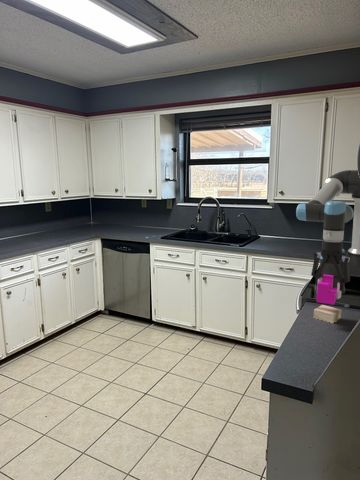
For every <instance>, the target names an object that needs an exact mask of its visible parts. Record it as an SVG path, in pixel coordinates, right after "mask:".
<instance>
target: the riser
mask: <svg viewBox="0 0 360 480" xmlns="http://www.w3.org/2000/svg"><path fill="white" fill-rule="evenodd" d="M313 318H315V319H314V320H317V319H319V320H318V321H321V320H323V321H322V322H325V321H326V323H329V322H330V323H329V324H335V323H337V322H338V321H340V320H341V319H342V309H341V308H336V307H333V306H328V305H324V304H320V306H318V307H316V308H314V309H313ZM340 318H341V319H340ZM339 319H340V320H339ZM337 320H338V321H337ZM334 322H335V323H334Z"/></svg>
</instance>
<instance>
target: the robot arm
mask: <svg viewBox="0 0 360 480" xmlns="http://www.w3.org/2000/svg"><path fill="white" fill-rule="evenodd" d="M358 170H359V169H356V170H355V169H352V170H350V169H346V170H343V171H342V170H341V171H339V172H337V173H335V174H332V175H330V176H329V177H328V178H326V180H324V182H323V184H322V187H321V188H320V189H319V191H318V192H316V193H315V195H314V196H312V198H311V199H310V200H309V201H308V202H307V203H299V204H298V205H297V207H296V210H295V212H296V213H295V215H296V219H298V220H299V221H305V222H319V223H323V232H322V239H323V240H322V243H321V244H322V245H321V251H320V252H318V251H317V252H314V253H313V259H314V260H313V263H312V269H311V274H310V275H311V276H312V277H313V278H315V284H314V290H315V292H317V287H318V282H322V281H323V275H324V274H325V275H333V288H337V297H336V300H339V299H341V298H342V295H344V294H345V293H346V288H345V284H346V283H349V282H351V277H358V278H360V178H359V175H358ZM341 194H349V195H351V199H352V200H353V202H354V204H353V205H354V207H353V208H352V206H350V205H347V203H346V202H344V201H338V200H337V201H336V200H335V201H333V200H334V199H335V197H338V196H339V195H341ZM351 220H353V221H352V222H353V223H352V236H351V247H350V248H349V249H348V250H347V252H346V250H345V249H344V242H343V241H344V237H345V236H344V235H345V233H344V232H345V224H346V223H348V222H350V221H351ZM318 268H319V269H318Z"/></svg>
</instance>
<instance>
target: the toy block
mask: <svg viewBox="0 0 360 480" xmlns="http://www.w3.org/2000/svg"><path fill="white" fill-rule="evenodd" d="M336 297H337V288H333V275H325V274H324V275H323V281H322V282H318V287H317V291H316V303H320V304H326V305H331V306H332V305H333V306H334V305H335V303H336V301H337V299H336Z"/></svg>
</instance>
